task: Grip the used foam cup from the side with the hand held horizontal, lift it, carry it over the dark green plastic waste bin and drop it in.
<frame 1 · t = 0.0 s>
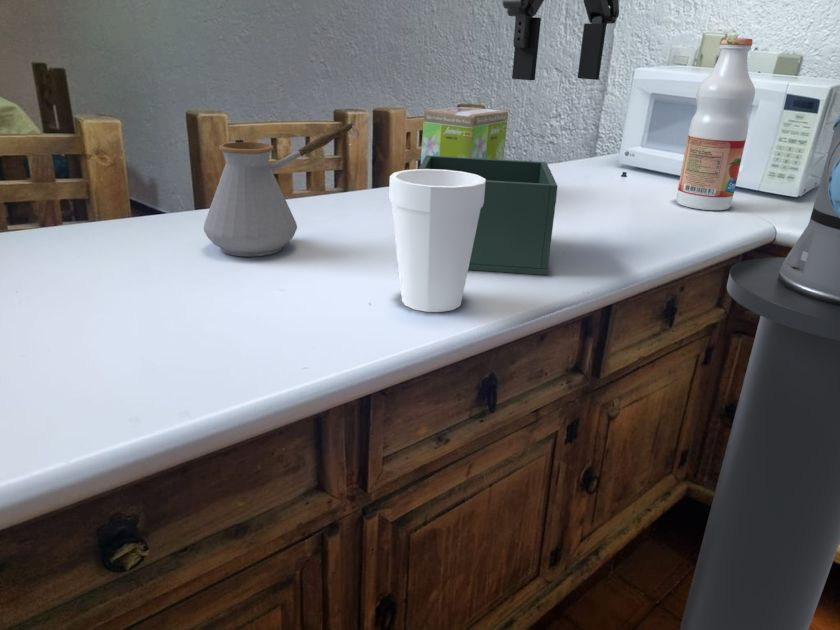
hand: (557, 79, 80), 22 cm above the worktop, tool pointing down, fingers open, 13 cm apart
waste bin: (478, 250, 87), on the worktop
coffee pot: (287, 244, 87), on the worktop
foam cup: (431, 302, 70), on the worktop
fruit juice: (702, 206, 119), on the worktop
tea box: (461, 194, 121), on the worktop
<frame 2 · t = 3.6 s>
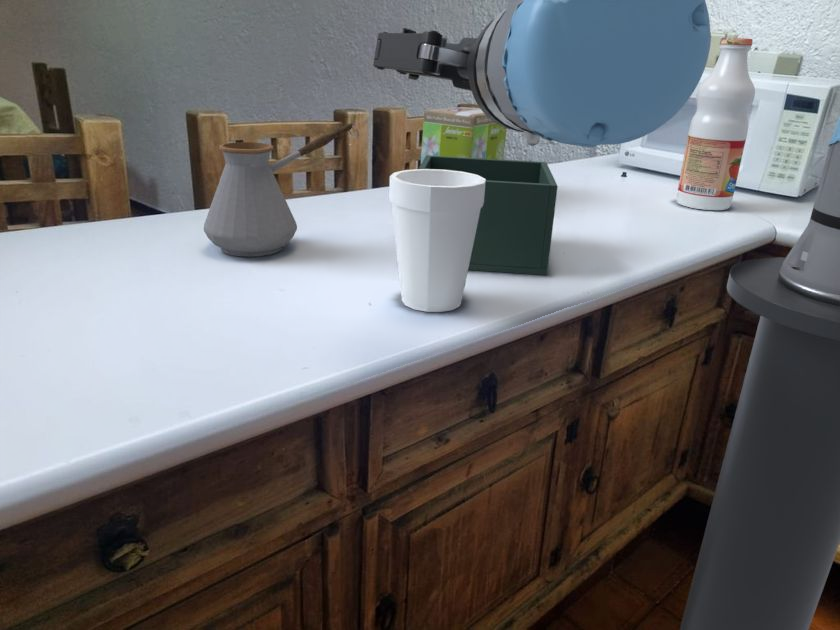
hand: (489, 79, 59), 22 cm above the worktop, tool horizontal, fingers open, 13 cm apart
nothing on the worktop moved.
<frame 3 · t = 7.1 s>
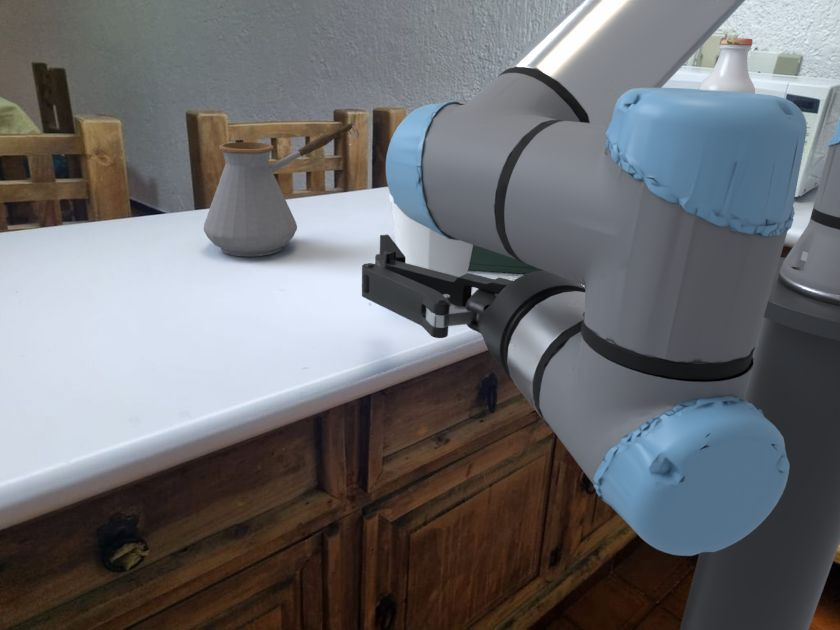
hand: (457, 247, 60), 8 cm above the worktop, tool horizontal, fingers open, 13 cm apart
nothing on the worktop moved.
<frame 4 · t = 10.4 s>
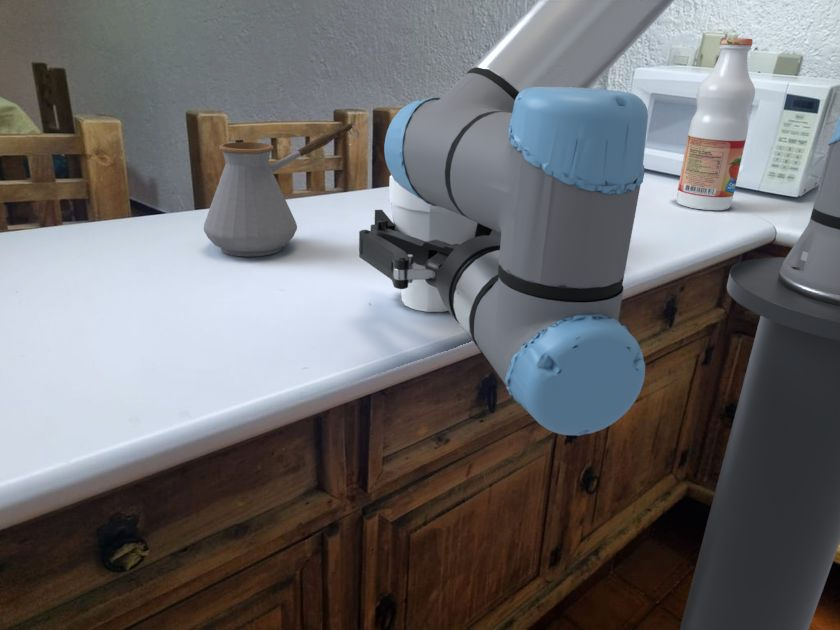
hand: (424, 221, 71), 7 cm above the worktop, tool horizontal, fingers closed on foam cup, 9 cm apart
foam cup: (431, 302, 70), on the worktop, touching gripper
everything else where it was.
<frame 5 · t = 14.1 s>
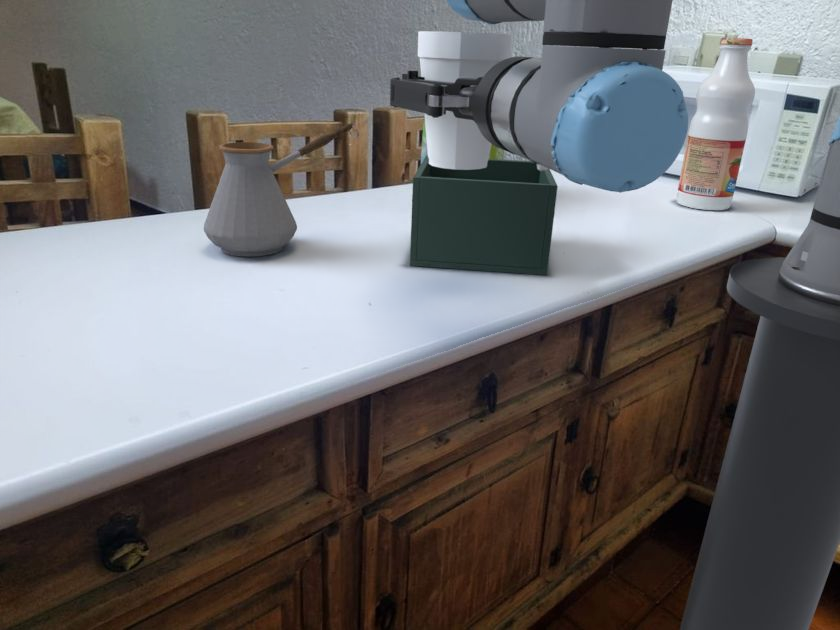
hand: (449, 88, 72), 21 cm above the worktop, tool horizontal, fingers closed on foam cup, 9 cm apart
foam cup: (457, 166, 71), point 13 cm above the worktop, touching gripper
everything else where it was.
when the fingers open (17 cm above the worktop, at t = 18.1 s): foam cup drops 9 cm, resting on waste bin.
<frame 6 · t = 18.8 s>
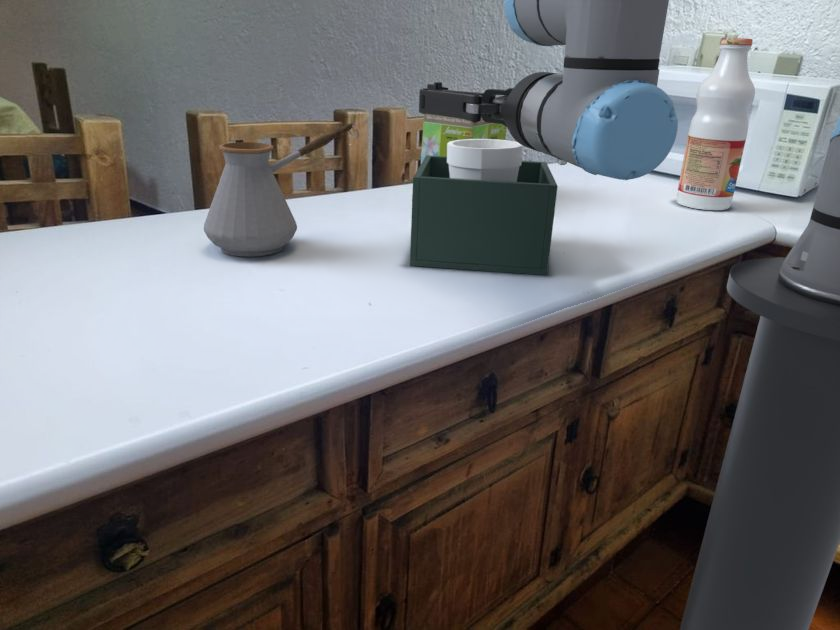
hand: (481, 96, 83), 19 cm above the worktop, tool horizontal, fingers open, 13 cm apart
foam cup: (480, 246, 87), point 1 cm above the worktop, touching waste bin
everything else where it was.
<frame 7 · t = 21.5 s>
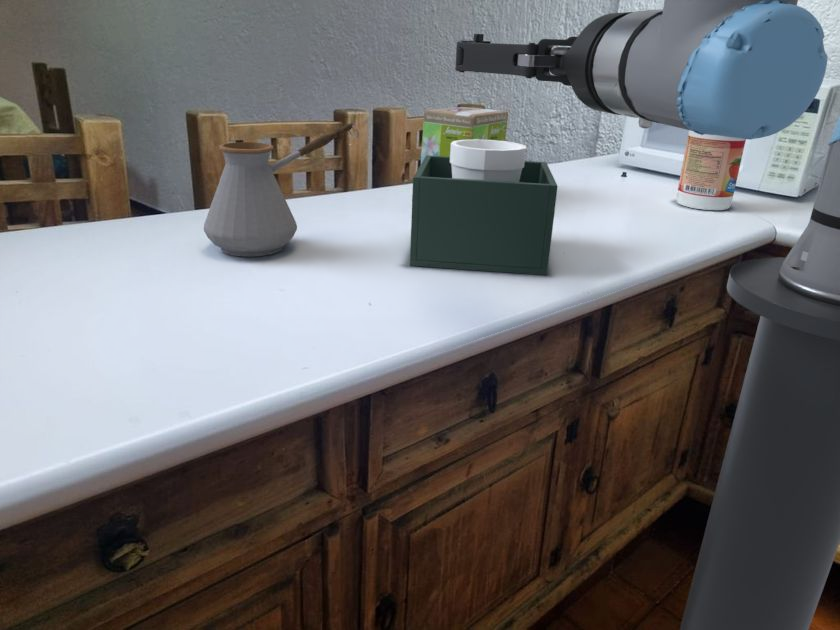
hand: (525, 56, 69), 24 cm above the worktop, tool horizontal, fingers open, 13 cm apart
nothing on the worktop moved.
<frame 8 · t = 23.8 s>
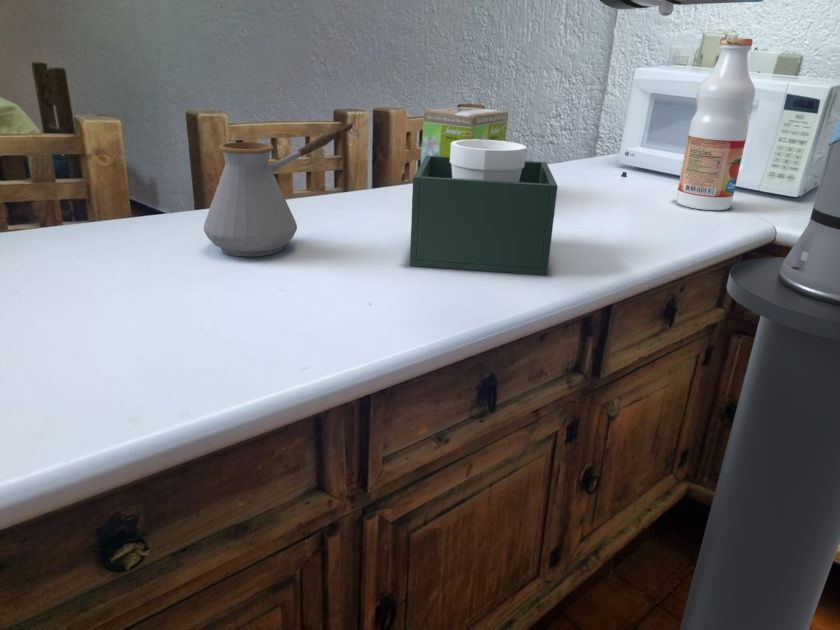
nothing on the worktop moved.
at the end: foam cup inside the target area in the waste bin (0.2 cm from its centre), point 0.6 cm above the waste bin's base; the gripper is holding nothing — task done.
